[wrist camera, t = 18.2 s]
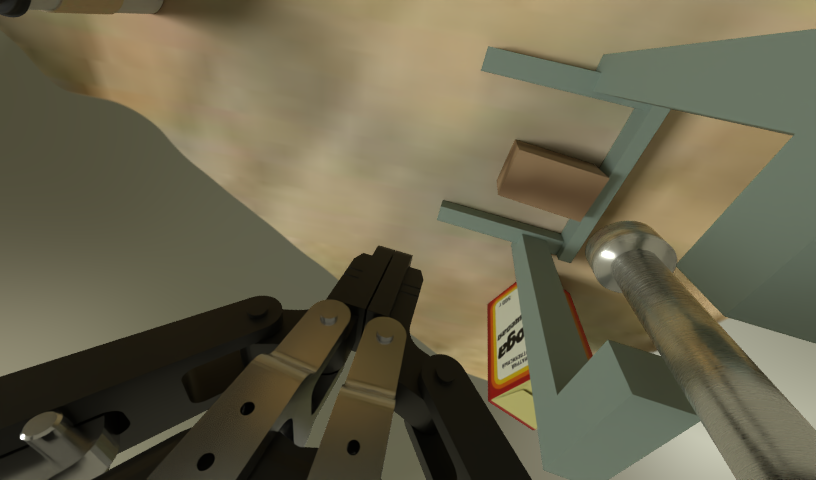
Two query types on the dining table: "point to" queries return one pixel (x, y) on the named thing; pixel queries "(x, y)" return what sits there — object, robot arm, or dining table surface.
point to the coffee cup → (79, 6)
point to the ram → (705, 359)
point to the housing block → (550, 180)
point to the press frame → (703, 264)
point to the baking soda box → (514, 357)
